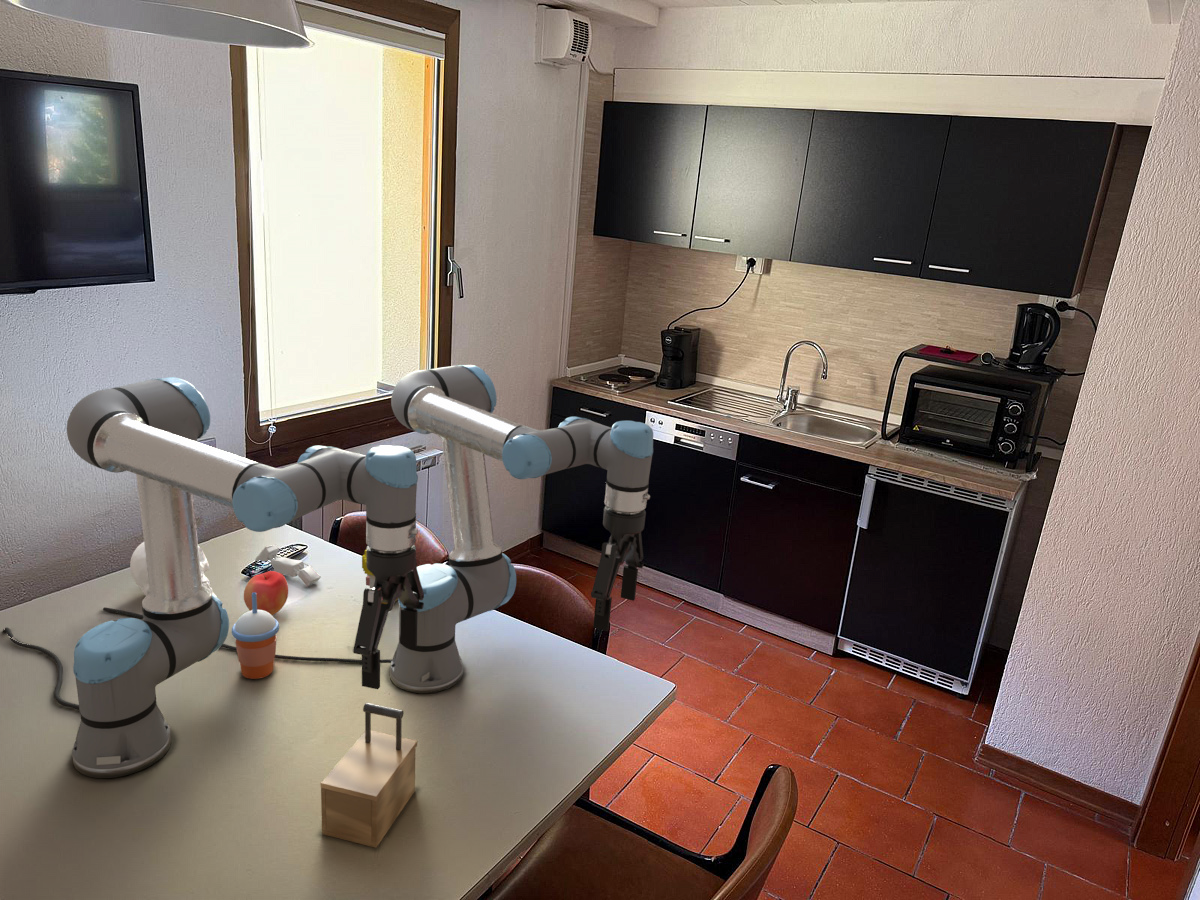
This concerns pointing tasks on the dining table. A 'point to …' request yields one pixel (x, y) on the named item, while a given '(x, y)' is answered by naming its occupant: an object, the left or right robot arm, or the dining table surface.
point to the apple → (267, 592)
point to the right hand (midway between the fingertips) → (614, 613)
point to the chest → (367, 809)
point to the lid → (371, 758)
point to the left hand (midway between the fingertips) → (390, 664)
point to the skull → (141, 572)
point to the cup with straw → (256, 641)
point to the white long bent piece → (288, 565)
